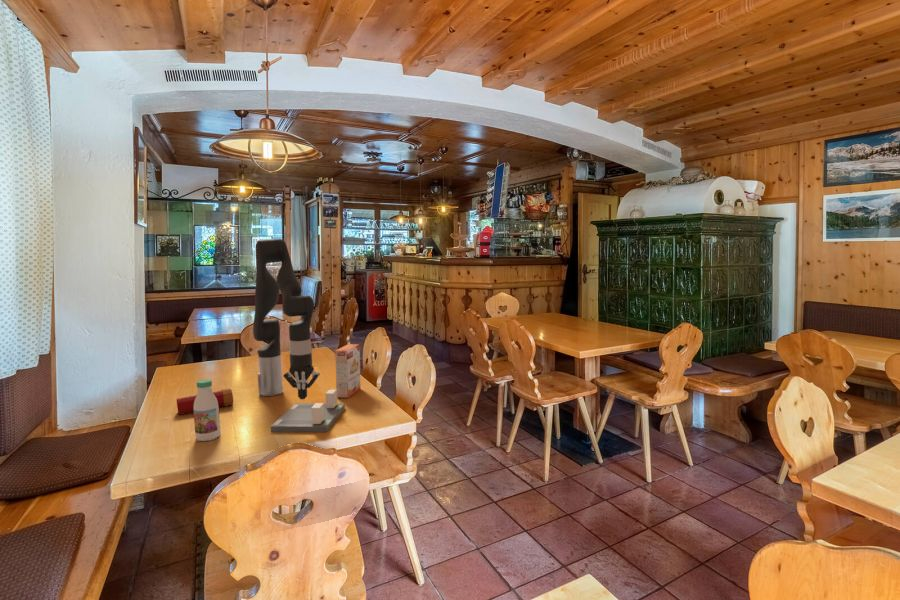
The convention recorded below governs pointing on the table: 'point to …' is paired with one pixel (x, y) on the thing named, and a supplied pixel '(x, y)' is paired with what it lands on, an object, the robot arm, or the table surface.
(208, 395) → the milk bottle
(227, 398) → the red tube
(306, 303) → the robot arm
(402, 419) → the table surface
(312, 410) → the beige rectangular block
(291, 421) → the breaker panel
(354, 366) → the cracker box
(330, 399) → the handle
